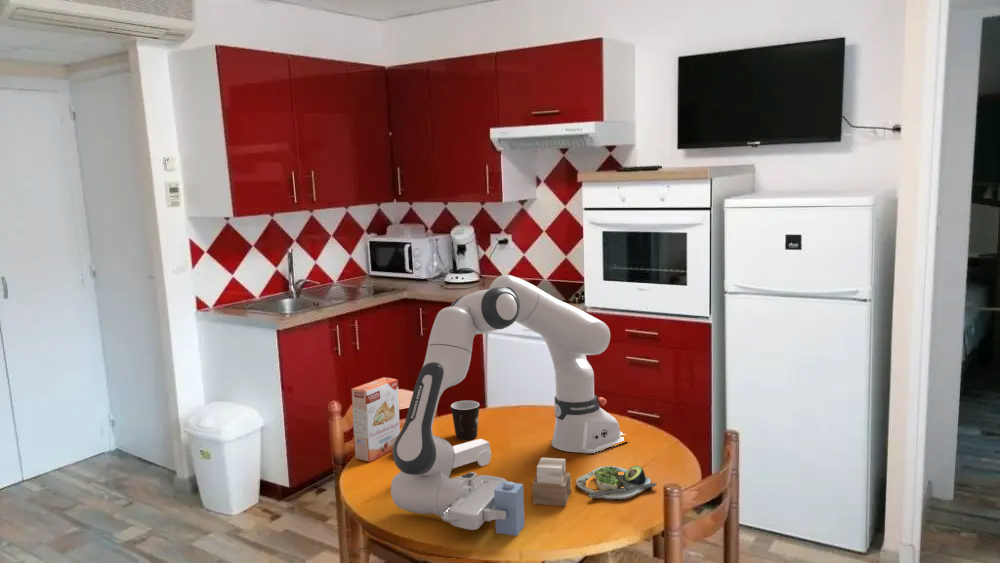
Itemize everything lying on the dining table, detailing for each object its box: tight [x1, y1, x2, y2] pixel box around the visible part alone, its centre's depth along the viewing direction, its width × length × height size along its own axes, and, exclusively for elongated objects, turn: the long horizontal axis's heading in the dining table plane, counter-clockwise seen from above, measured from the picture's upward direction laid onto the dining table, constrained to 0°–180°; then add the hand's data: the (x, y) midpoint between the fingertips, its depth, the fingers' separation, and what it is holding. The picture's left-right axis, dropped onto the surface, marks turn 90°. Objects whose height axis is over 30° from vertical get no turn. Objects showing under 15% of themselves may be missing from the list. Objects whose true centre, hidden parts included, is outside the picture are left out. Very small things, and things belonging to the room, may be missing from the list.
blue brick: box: [494, 481, 525, 537], centre depth 168 cm, size 5×5×11 cm
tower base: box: [531, 457, 572, 507], centre depth 183 cm, size 8×8×9 cm
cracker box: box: [351, 376, 401, 463], centre depth 216 cm, size 14×6×21 cm, turn 148°
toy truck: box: [452, 438, 492, 470], centre depth 202 cm, size 25×7×9 cm, turn 127°
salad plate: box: [575, 465, 658, 500], centre depth 188 cm, size 19×18×5 cm
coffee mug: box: [450, 400, 480, 441], centre depth 226 cm, size 12×9×10 cm
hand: (513, 506), depth 167 cm, fingers open, 7 cm apart
